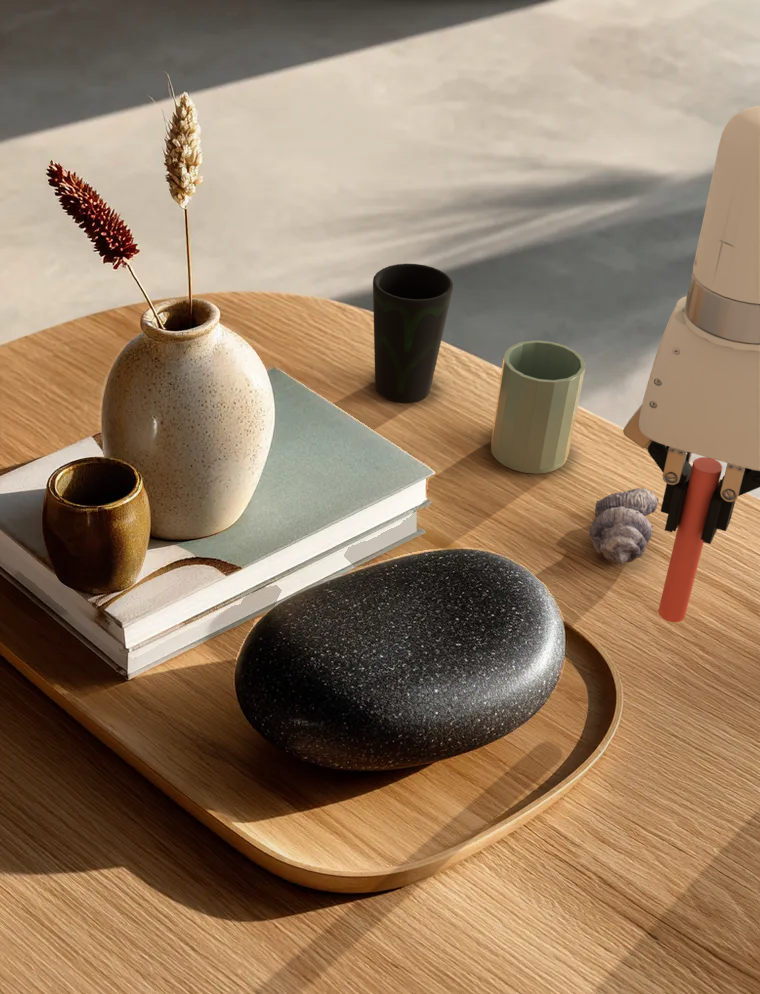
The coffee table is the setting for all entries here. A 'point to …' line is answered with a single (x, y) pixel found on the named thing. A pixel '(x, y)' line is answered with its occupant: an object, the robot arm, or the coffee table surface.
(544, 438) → the tumbler
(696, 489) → the rod
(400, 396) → the cup
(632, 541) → the seashell
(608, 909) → the coffee table surface
